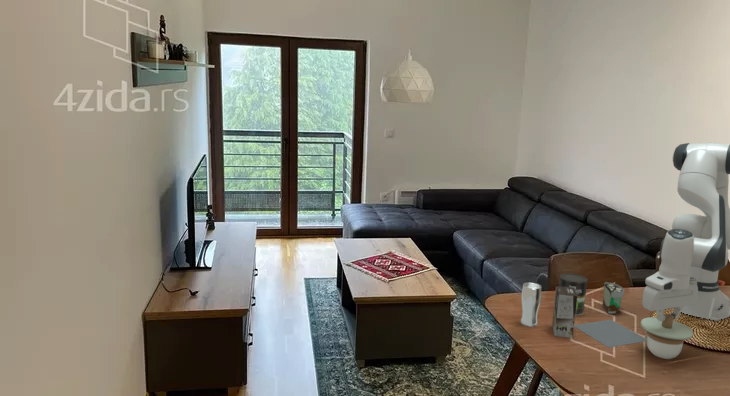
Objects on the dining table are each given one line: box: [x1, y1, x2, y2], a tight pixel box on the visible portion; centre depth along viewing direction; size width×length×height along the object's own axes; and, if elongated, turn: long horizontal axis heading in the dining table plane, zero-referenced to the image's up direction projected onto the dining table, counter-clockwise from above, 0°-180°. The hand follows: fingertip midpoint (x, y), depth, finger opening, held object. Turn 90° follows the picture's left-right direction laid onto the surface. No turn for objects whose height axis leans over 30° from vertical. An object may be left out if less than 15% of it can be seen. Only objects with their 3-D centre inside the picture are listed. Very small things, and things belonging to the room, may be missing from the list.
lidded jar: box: [646, 331, 685, 360], centre depth 175 cm, size 11×11×9 cm
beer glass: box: [520, 282, 542, 328], centre depth 197 cm, size 7×7×15 cm
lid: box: [640, 312, 694, 341], centre depth 174 cm, size 15×15×5 cm
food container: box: [602, 281, 625, 315], centre depth 210 cm, size 12×6×10 cm, turn 168°
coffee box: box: [551, 285, 578, 339], centre depth 190 cm, size 9×6×16 cm
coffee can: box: [558, 273, 589, 316], centre depth 209 cm, size 10×10×14 cm
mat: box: [574, 319, 647, 349], centre depth 191 cm, size 18×18×1 cm
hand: (667, 319), depth 174 cm, fingers open, 4 cm apart
